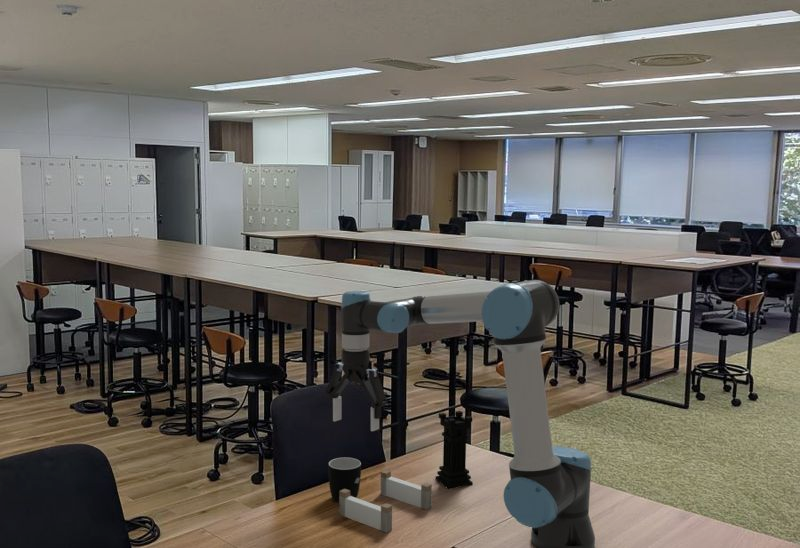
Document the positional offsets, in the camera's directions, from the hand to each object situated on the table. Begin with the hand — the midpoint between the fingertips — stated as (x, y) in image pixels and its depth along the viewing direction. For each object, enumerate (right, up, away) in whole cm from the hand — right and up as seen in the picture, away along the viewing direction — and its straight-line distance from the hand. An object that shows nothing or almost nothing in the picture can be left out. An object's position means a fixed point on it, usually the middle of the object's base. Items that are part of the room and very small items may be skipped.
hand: (355, 425), depth 196 cm
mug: (-3, -21, +3) cm, 21 cm away
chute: (+8, -22, -6) cm, 24 cm away
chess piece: (+28, -20, +15) cm, 37 cm away
